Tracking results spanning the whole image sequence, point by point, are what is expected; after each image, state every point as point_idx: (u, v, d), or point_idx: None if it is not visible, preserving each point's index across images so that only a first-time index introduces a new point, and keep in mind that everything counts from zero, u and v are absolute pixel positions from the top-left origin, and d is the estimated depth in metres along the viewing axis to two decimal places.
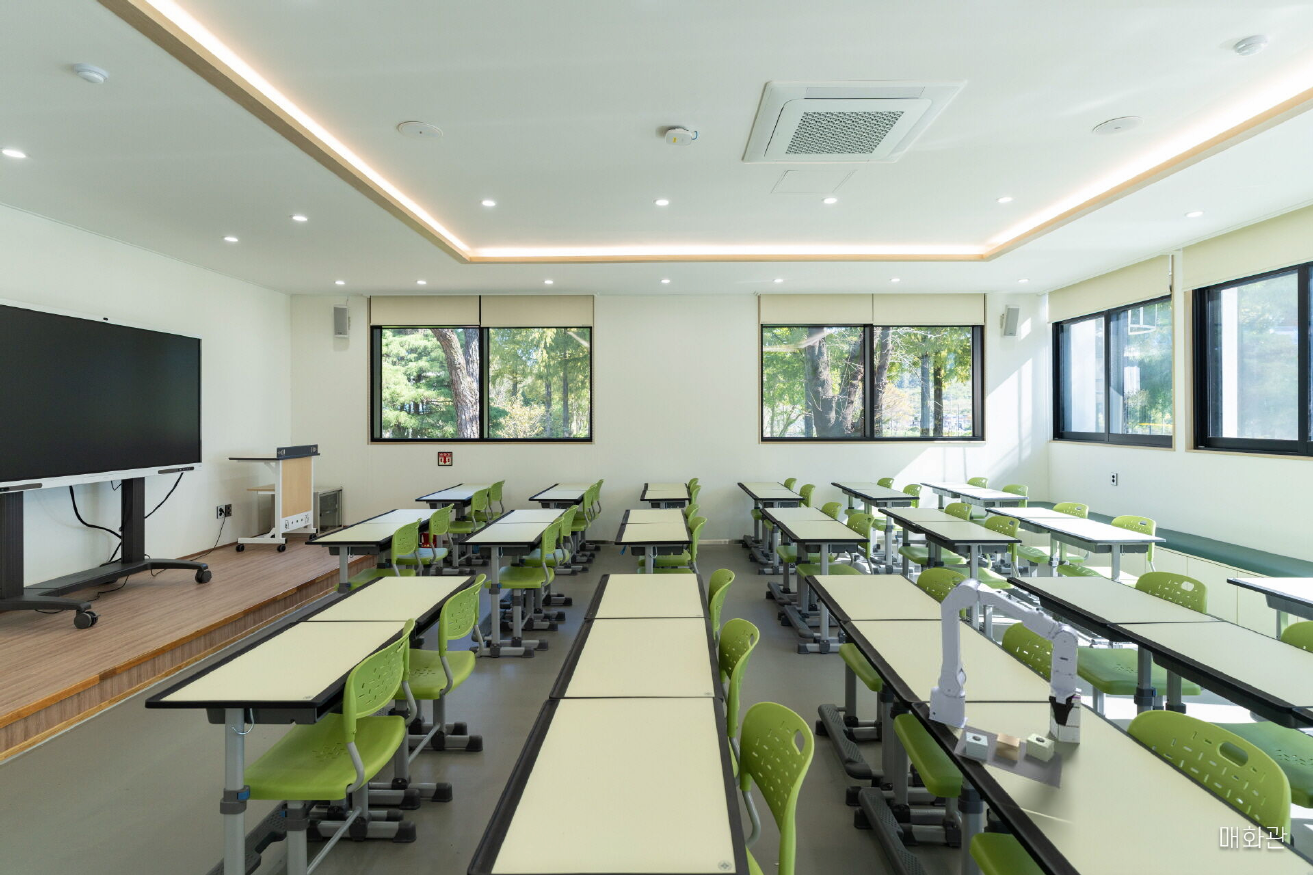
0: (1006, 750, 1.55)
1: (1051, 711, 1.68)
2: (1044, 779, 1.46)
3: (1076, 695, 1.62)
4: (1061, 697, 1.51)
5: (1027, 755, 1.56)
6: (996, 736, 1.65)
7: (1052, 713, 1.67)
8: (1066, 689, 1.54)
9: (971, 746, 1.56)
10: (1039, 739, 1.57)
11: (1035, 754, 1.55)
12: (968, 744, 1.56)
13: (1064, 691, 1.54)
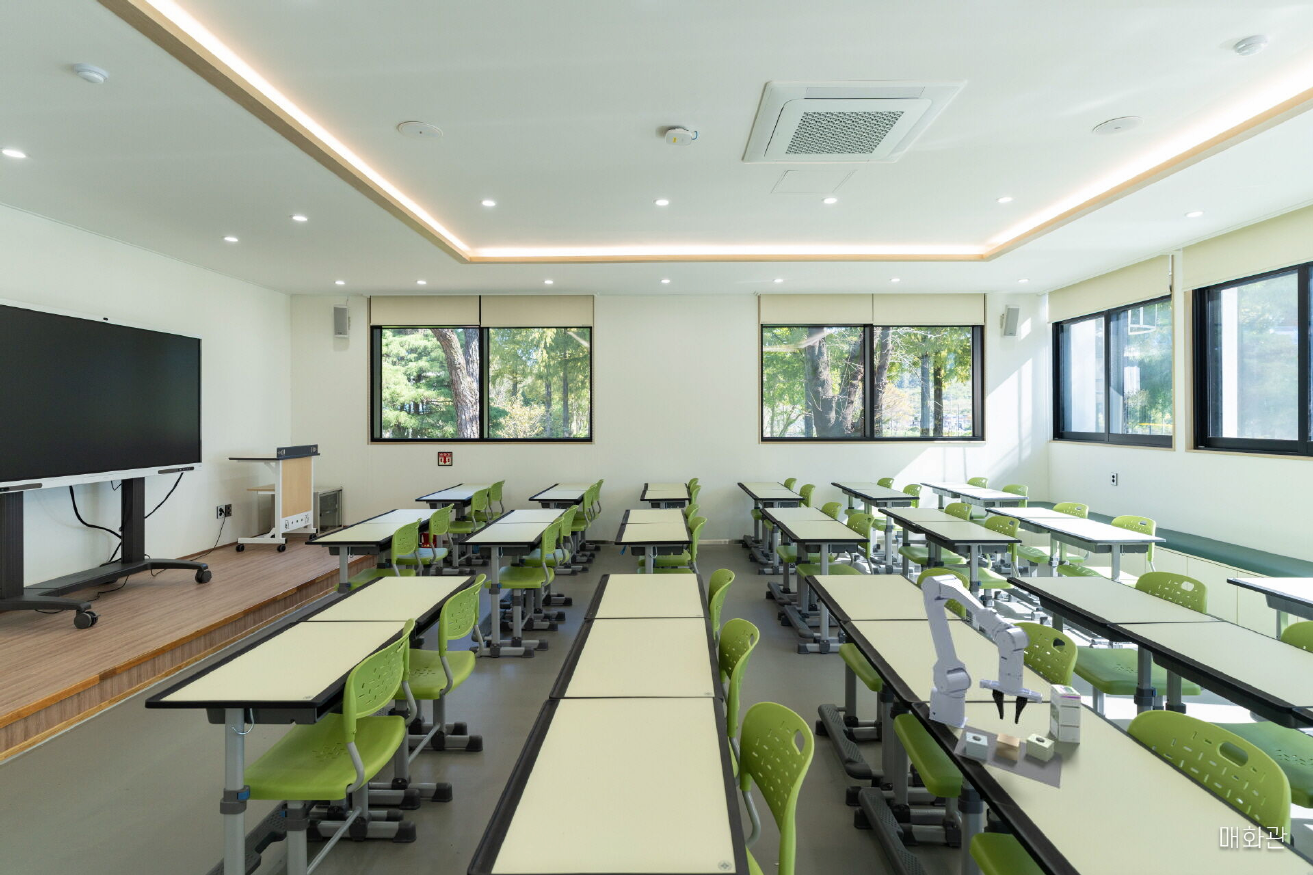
0: (1006, 750, 1.55)
1: (1051, 711, 1.68)
2: (1044, 779, 1.46)
3: (1076, 695, 1.62)
4: (980, 681, 1.61)
5: (1027, 755, 1.56)
6: (996, 736, 1.65)
7: (1052, 713, 1.67)
8: (998, 684, 1.57)
9: (971, 746, 1.56)
10: (1039, 739, 1.57)
11: (1035, 754, 1.55)
12: (968, 744, 1.56)
13: (997, 685, 1.58)
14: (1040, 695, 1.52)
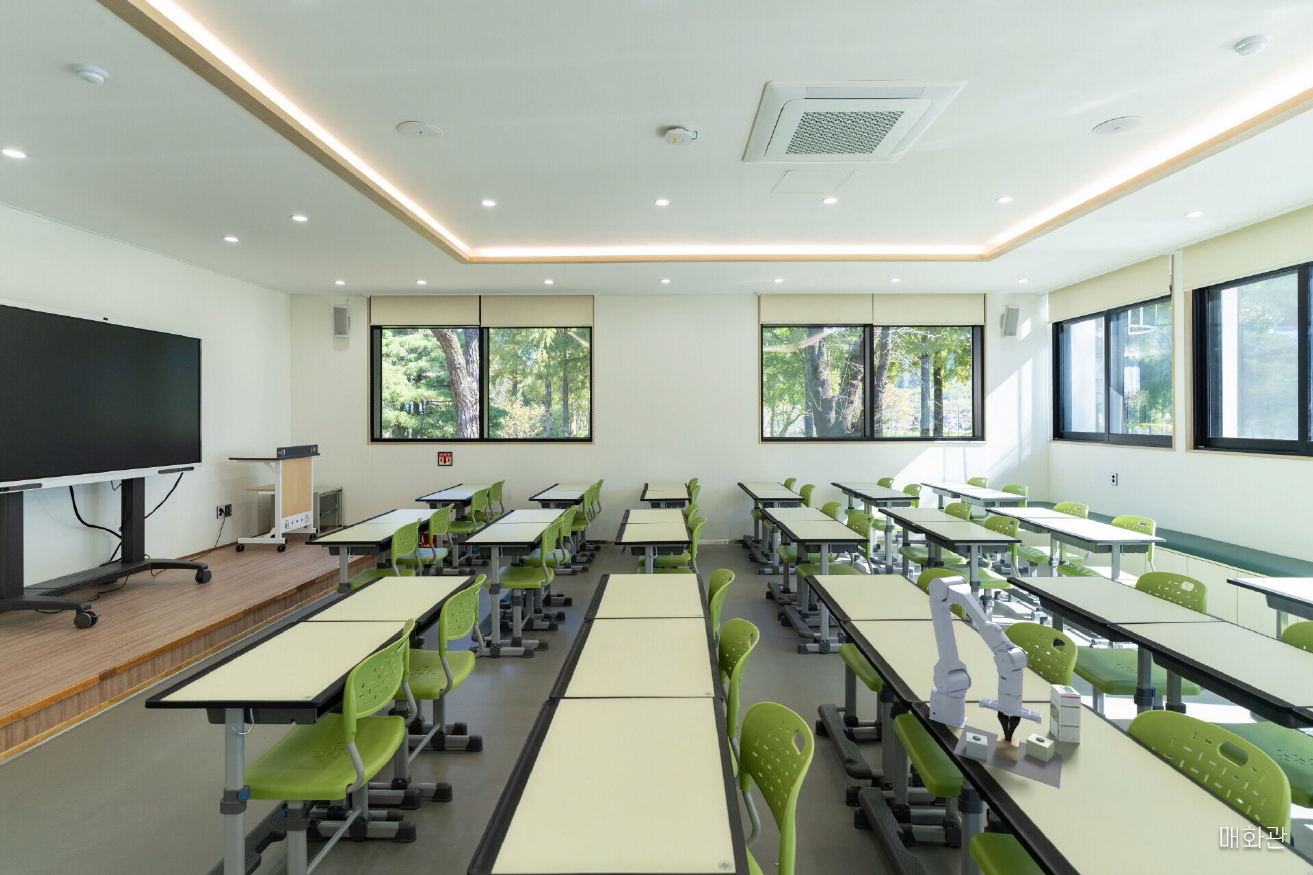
0: (1006, 750, 1.55)
1: (1051, 711, 1.68)
2: (1044, 779, 1.46)
3: (1076, 695, 1.62)
4: (979, 700, 1.61)
5: (1027, 755, 1.56)
6: (996, 736, 1.65)
7: (1052, 713, 1.67)
8: (997, 704, 1.57)
9: (971, 746, 1.56)
10: (1039, 739, 1.57)
11: (1035, 754, 1.55)
12: (968, 744, 1.56)
13: (996, 705, 1.58)
14: (1039, 715, 1.52)
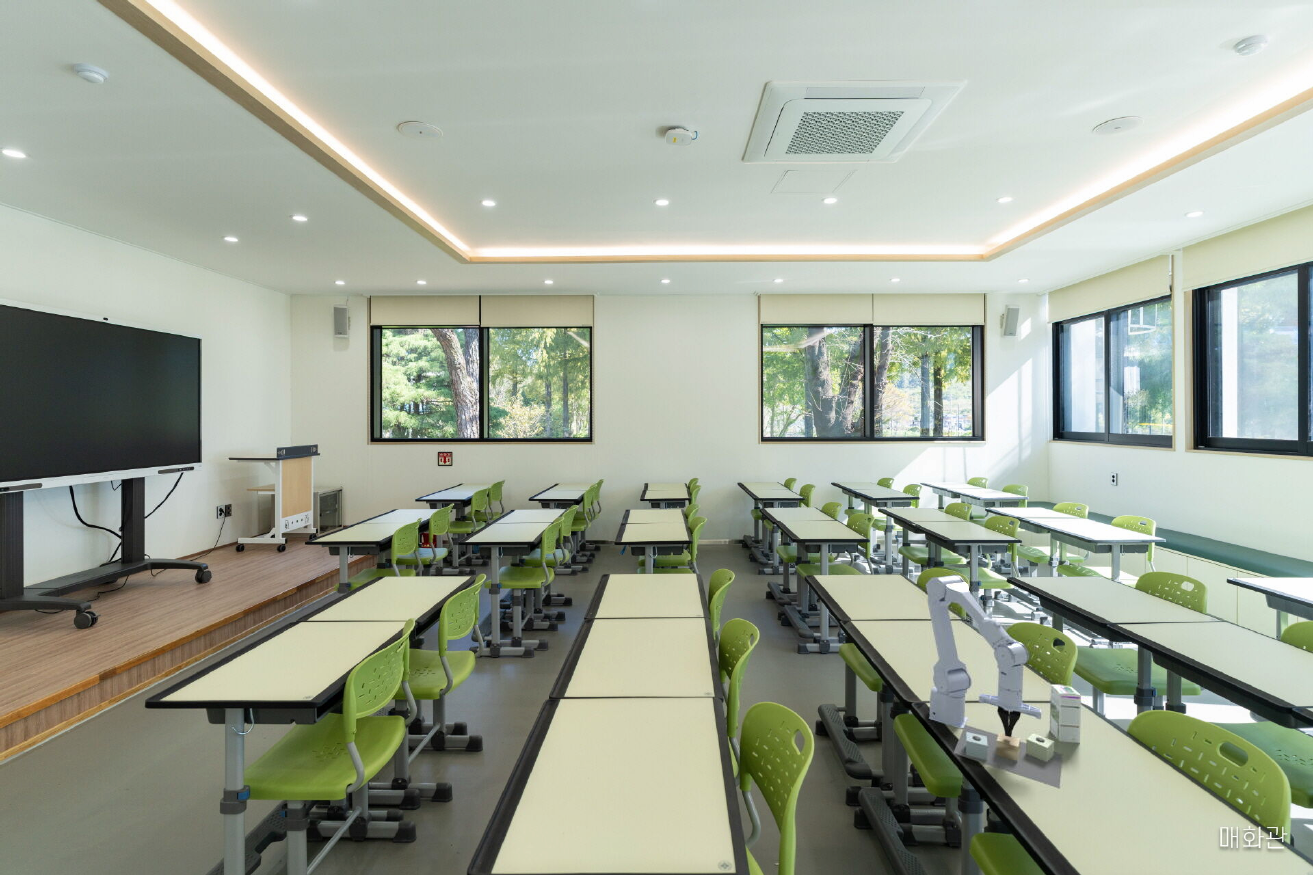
0: (1006, 750, 1.55)
1: (1051, 711, 1.68)
2: (1044, 779, 1.46)
3: (1076, 695, 1.62)
4: None
5: (1027, 755, 1.56)
6: (996, 736, 1.65)
7: (1052, 713, 1.67)
8: (997, 699, 1.57)
9: (971, 746, 1.56)
10: (1039, 739, 1.57)
11: (1035, 754, 1.55)
12: (968, 744, 1.56)
13: (996, 700, 1.58)
14: (1039, 711, 1.52)
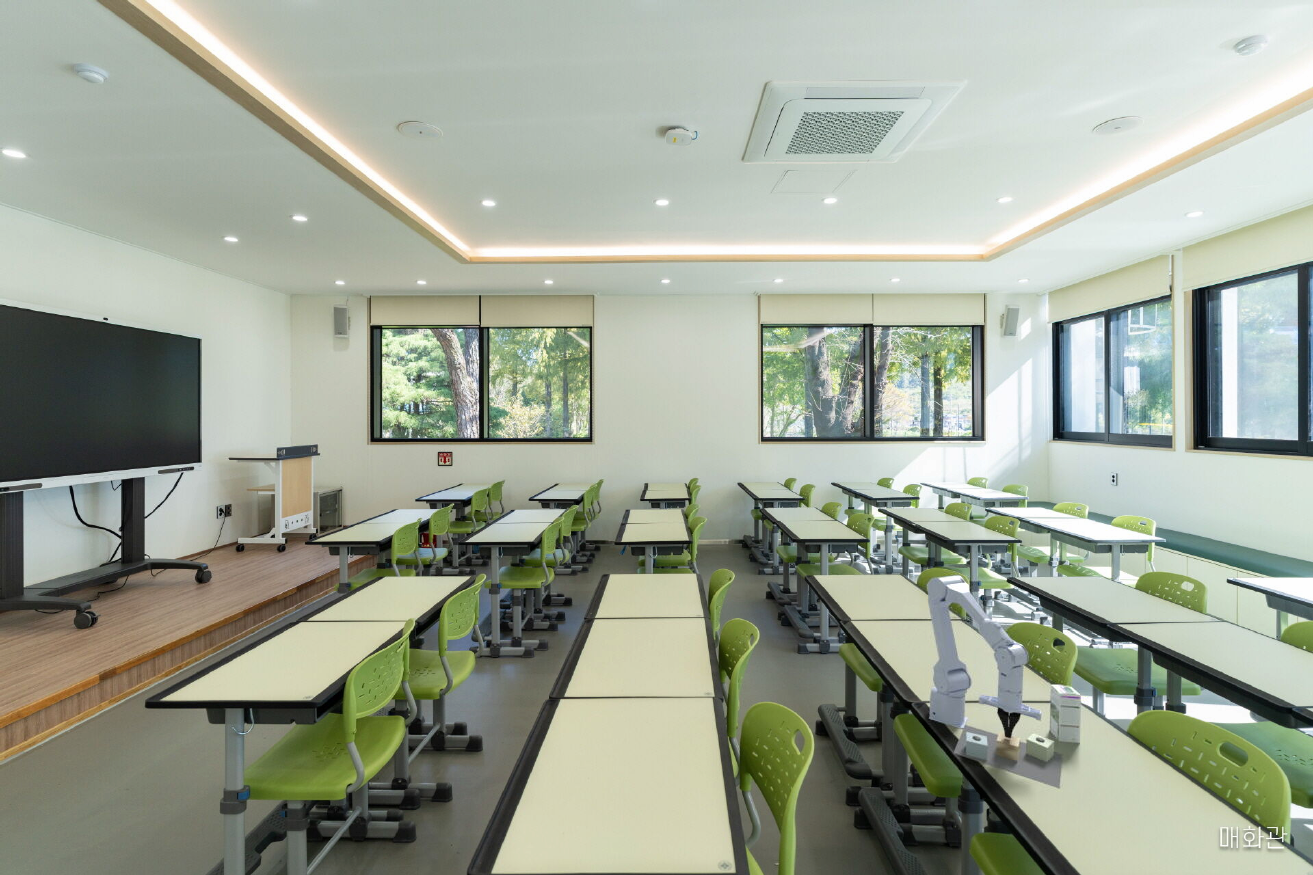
0: (1006, 750, 1.55)
1: (1051, 711, 1.68)
2: (1044, 779, 1.46)
3: (1076, 695, 1.62)
4: None
5: (1027, 755, 1.56)
6: (996, 736, 1.65)
7: (1052, 713, 1.67)
8: (997, 700, 1.57)
9: (971, 746, 1.56)
10: (1039, 739, 1.57)
11: (1035, 754, 1.55)
12: (968, 744, 1.56)
13: (996, 701, 1.58)
14: (1039, 712, 1.52)
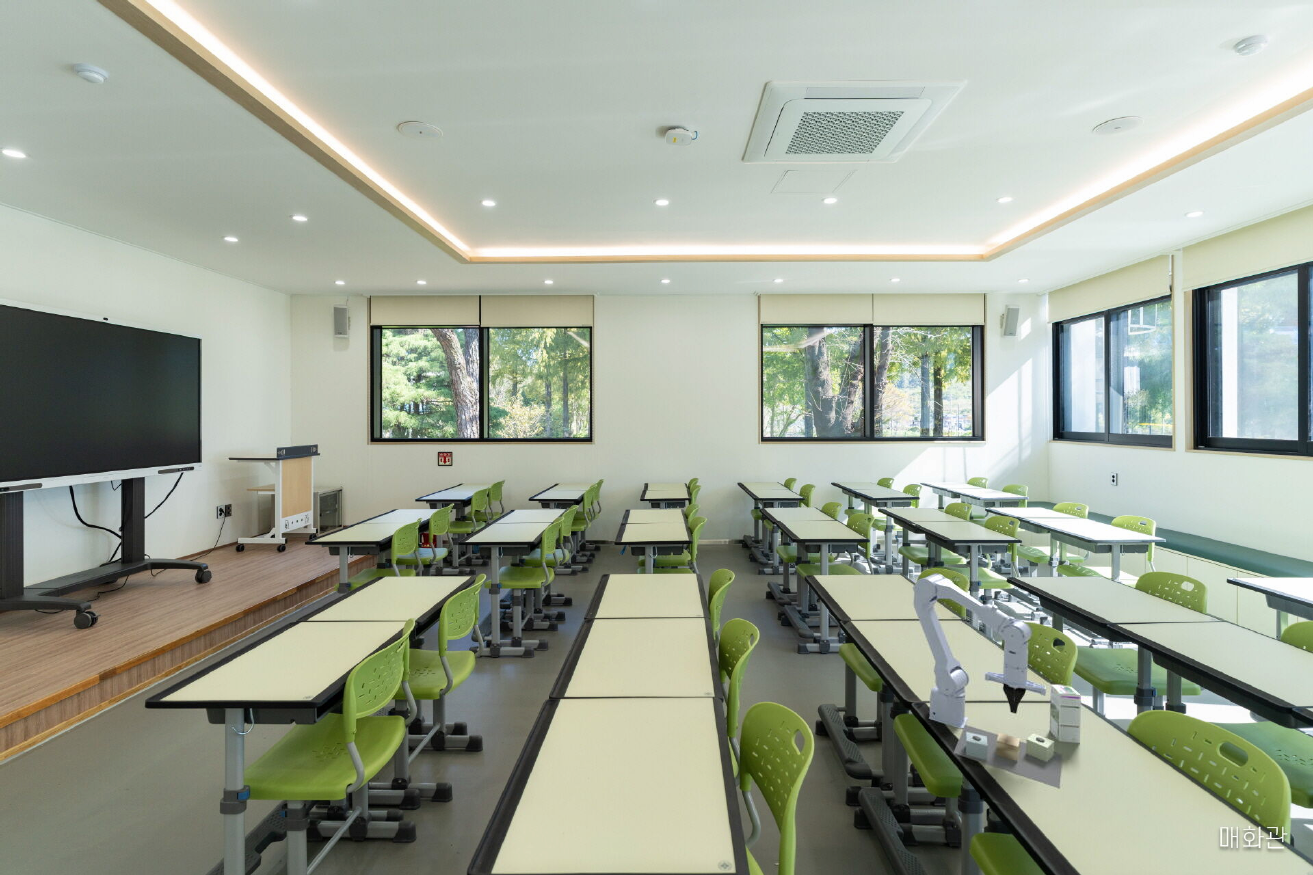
0: (1006, 750, 1.55)
1: (1051, 711, 1.68)
2: (1044, 779, 1.46)
3: (1076, 695, 1.62)
4: None
5: (1027, 755, 1.56)
6: (996, 736, 1.65)
7: (1052, 713, 1.67)
8: (1003, 676, 1.62)
9: (971, 746, 1.56)
10: (1039, 739, 1.57)
11: (1035, 754, 1.55)
12: (968, 744, 1.56)
13: (1002, 677, 1.62)
14: (1044, 687, 1.56)
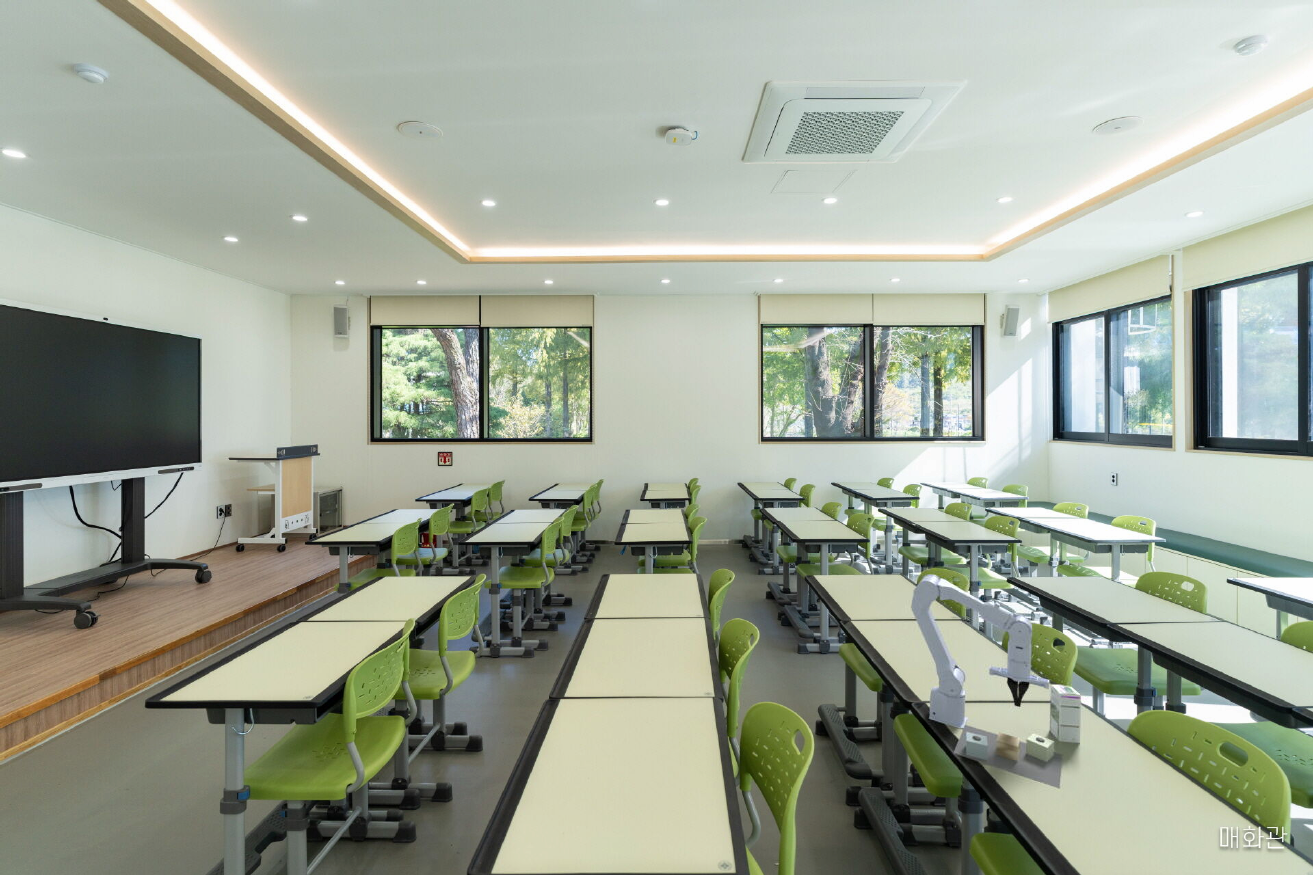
0: (1006, 750, 1.55)
1: (1051, 711, 1.68)
2: (1044, 779, 1.46)
3: (1076, 695, 1.62)
4: (989, 668, 1.69)
5: (1027, 755, 1.56)
6: (996, 736, 1.65)
7: (1052, 713, 1.67)
8: (1007, 671, 1.65)
9: (971, 746, 1.56)
10: (1039, 739, 1.57)
11: (1035, 754, 1.55)
12: (968, 744, 1.56)
13: (1006, 672, 1.66)
14: (1047, 681, 1.60)
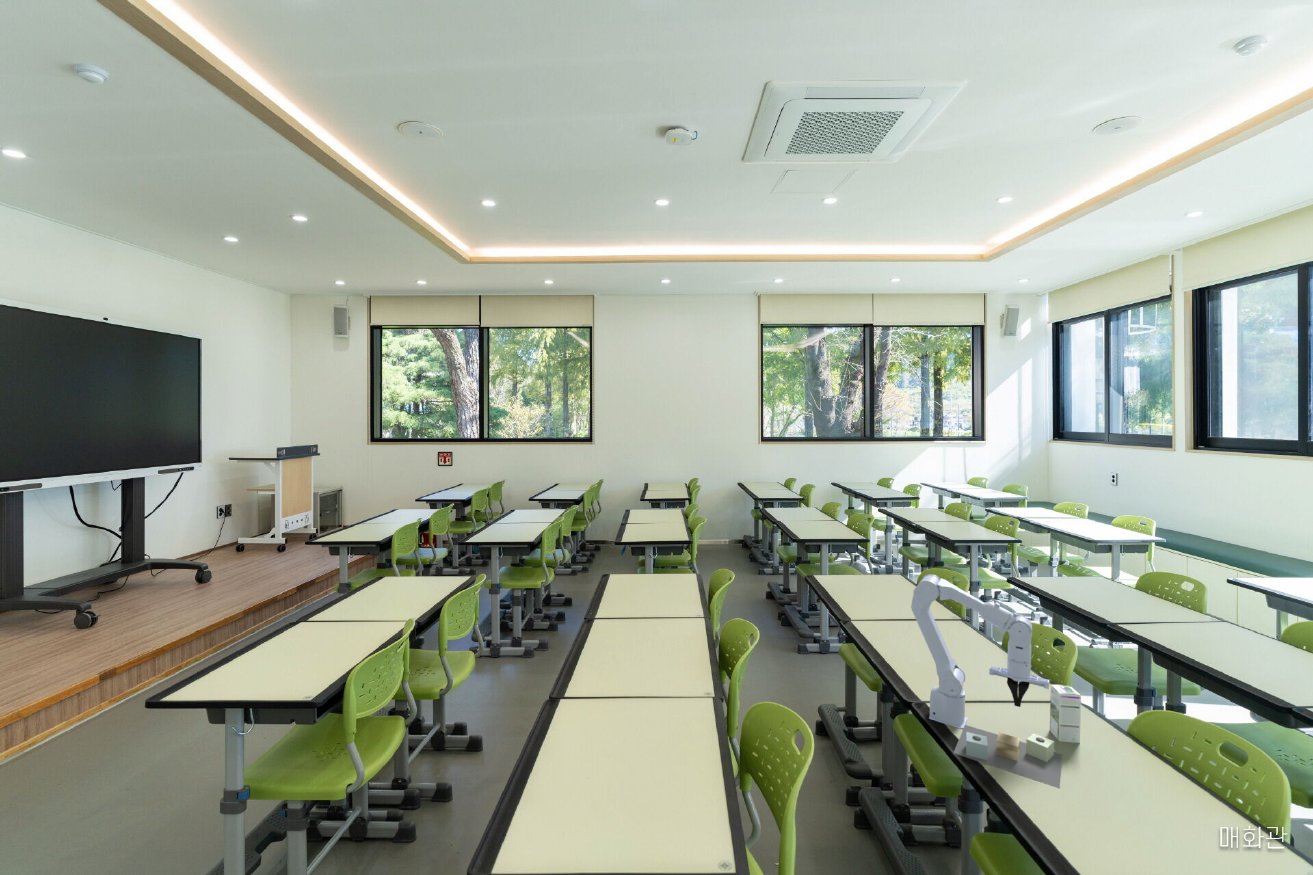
0: (1006, 750, 1.55)
1: (1051, 711, 1.68)
2: (1044, 779, 1.46)
3: (1076, 695, 1.62)
4: (989, 668, 1.69)
5: (1027, 755, 1.56)
6: (996, 736, 1.65)
7: (1052, 713, 1.67)
8: (1007, 671, 1.65)
9: (971, 746, 1.56)
10: (1039, 739, 1.57)
11: (1035, 754, 1.55)
12: (968, 744, 1.56)
13: (1006, 672, 1.66)
14: (1047, 681, 1.60)
